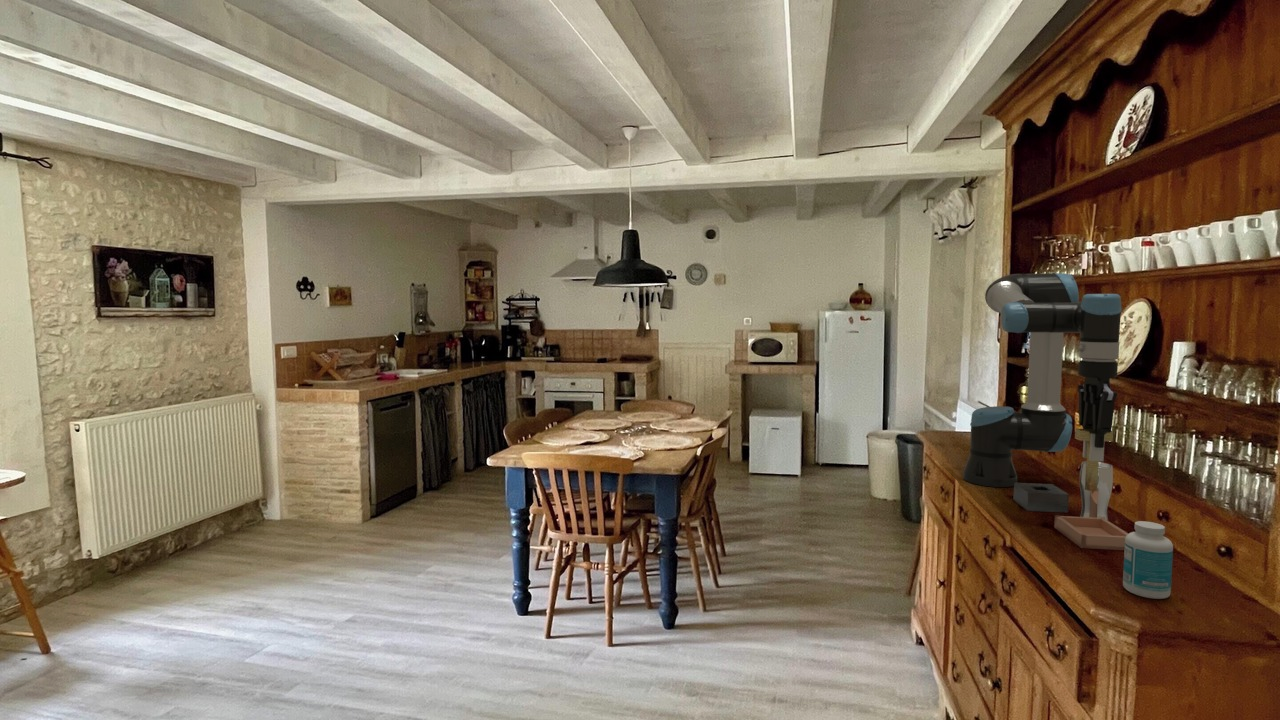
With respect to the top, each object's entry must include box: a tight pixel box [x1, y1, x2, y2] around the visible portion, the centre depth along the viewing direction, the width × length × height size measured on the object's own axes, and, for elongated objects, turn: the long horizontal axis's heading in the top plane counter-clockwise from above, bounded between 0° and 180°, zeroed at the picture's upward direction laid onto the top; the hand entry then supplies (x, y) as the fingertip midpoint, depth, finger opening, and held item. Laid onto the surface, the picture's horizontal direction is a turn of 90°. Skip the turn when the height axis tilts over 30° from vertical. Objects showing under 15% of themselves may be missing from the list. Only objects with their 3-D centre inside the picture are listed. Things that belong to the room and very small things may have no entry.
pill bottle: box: [1122, 520, 1174, 600], centre depth 128 cm, size 8×7×14 cm
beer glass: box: [1079, 460, 1114, 521], centre depth 168 cm, size 7×7×15 cm
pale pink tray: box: [1054, 515, 1129, 551], centre depth 157 cm, size 14×11×3 cm
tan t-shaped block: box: [1074, 428, 1114, 491], centre depth 155 cm, size 7×2×14 cm, turn 80°
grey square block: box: [1012, 482, 1070, 514], centre depth 182 cm, size 10×10×5 cm
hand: (1092, 459), depth 155 cm, fingers closed on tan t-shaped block, 2 cm apart
